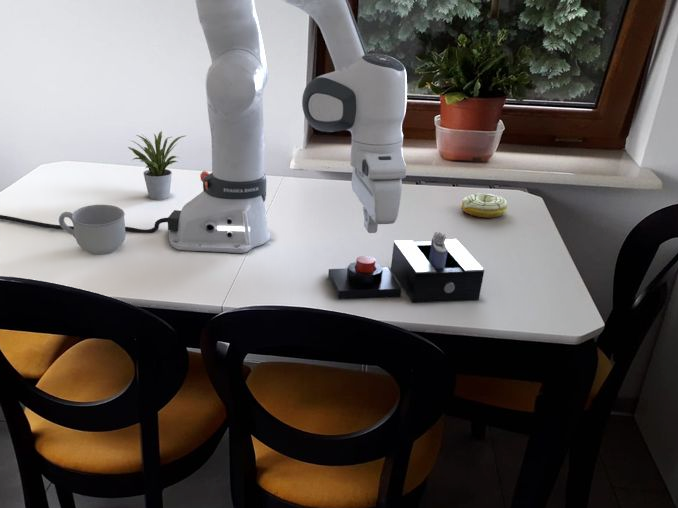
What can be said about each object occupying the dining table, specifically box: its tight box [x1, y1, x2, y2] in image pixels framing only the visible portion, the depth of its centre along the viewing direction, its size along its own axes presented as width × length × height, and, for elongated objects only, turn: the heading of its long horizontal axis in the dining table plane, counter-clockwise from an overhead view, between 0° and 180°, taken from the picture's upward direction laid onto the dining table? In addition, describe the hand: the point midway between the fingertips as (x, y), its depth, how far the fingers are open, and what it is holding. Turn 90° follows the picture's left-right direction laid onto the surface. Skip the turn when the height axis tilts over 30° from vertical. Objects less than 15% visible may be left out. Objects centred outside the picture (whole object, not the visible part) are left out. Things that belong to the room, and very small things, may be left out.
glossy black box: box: [390, 238, 485, 304], centre depth 136 cm, size 14×16×6 cm
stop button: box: [355, 255, 376, 273], centre depth 134 cm, size 4×4×2 cm
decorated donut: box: [461, 192, 508, 219], centre depth 174 cm, size 10×11×4 cm
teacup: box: [58, 204, 126, 255], centre depth 148 cm, size 14×11×8 cm
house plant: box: [127, 130, 186, 201], centre depth 176 cm, size 14×14×16 cm
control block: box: [327, 261, 402, 300], centre depth 135 cm, size 12×10×4 cm
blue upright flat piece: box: [429, 231, 448, 269], centre depth 135 cm, size 9×3×11 cm, turn 172°
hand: (370, 230), depth 130 cm, fingers closed
